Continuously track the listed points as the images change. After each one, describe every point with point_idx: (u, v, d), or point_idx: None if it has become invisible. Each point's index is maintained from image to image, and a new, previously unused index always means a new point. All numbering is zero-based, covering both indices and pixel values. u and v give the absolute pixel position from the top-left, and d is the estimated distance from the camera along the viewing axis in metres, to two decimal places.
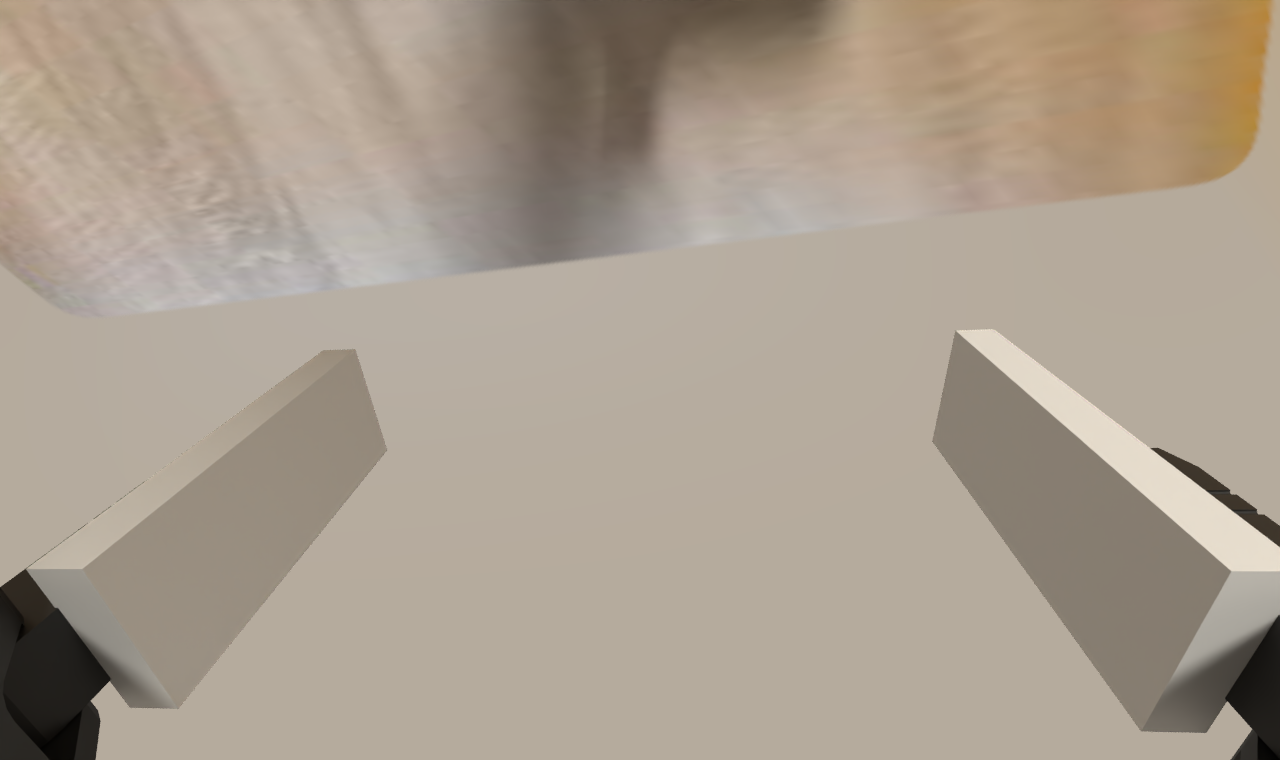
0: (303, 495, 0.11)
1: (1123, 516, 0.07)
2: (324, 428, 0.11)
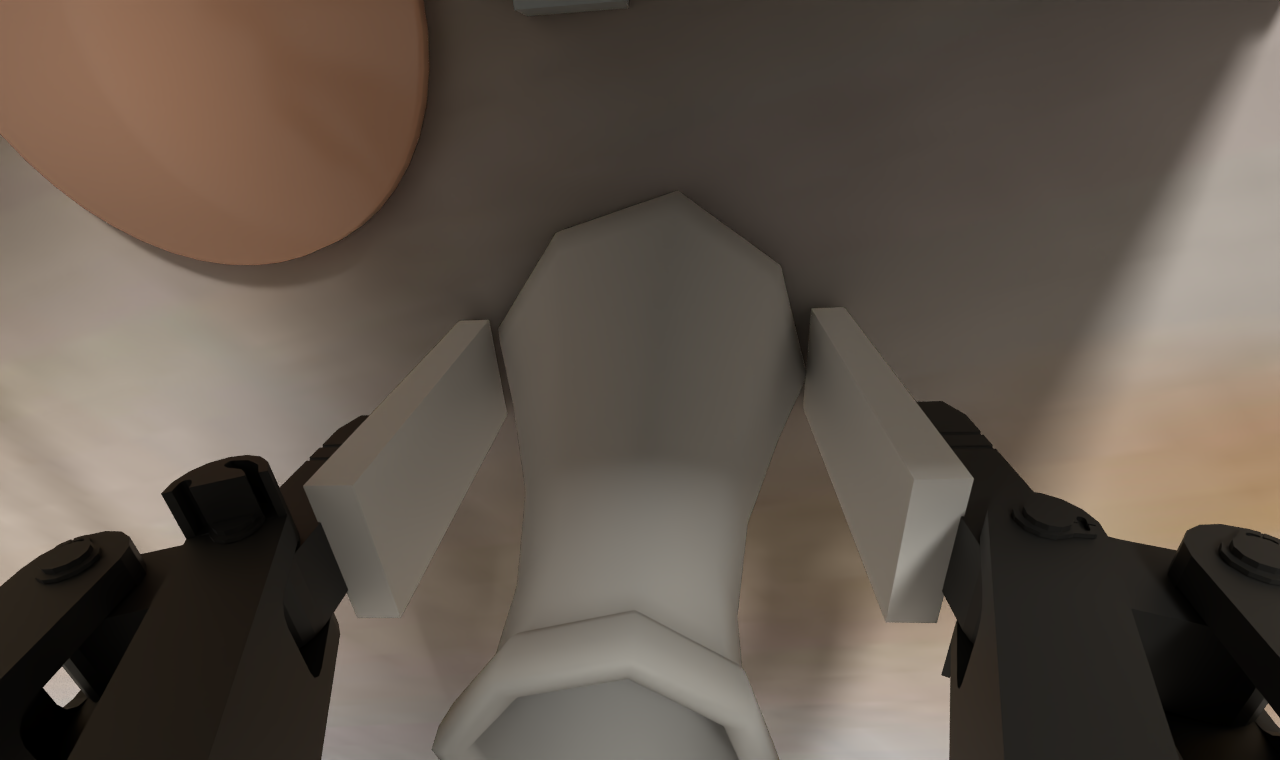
0: (462, 446, 0.12)
1: (877, 449, 0.09)
2: (473, 388, 0.13)
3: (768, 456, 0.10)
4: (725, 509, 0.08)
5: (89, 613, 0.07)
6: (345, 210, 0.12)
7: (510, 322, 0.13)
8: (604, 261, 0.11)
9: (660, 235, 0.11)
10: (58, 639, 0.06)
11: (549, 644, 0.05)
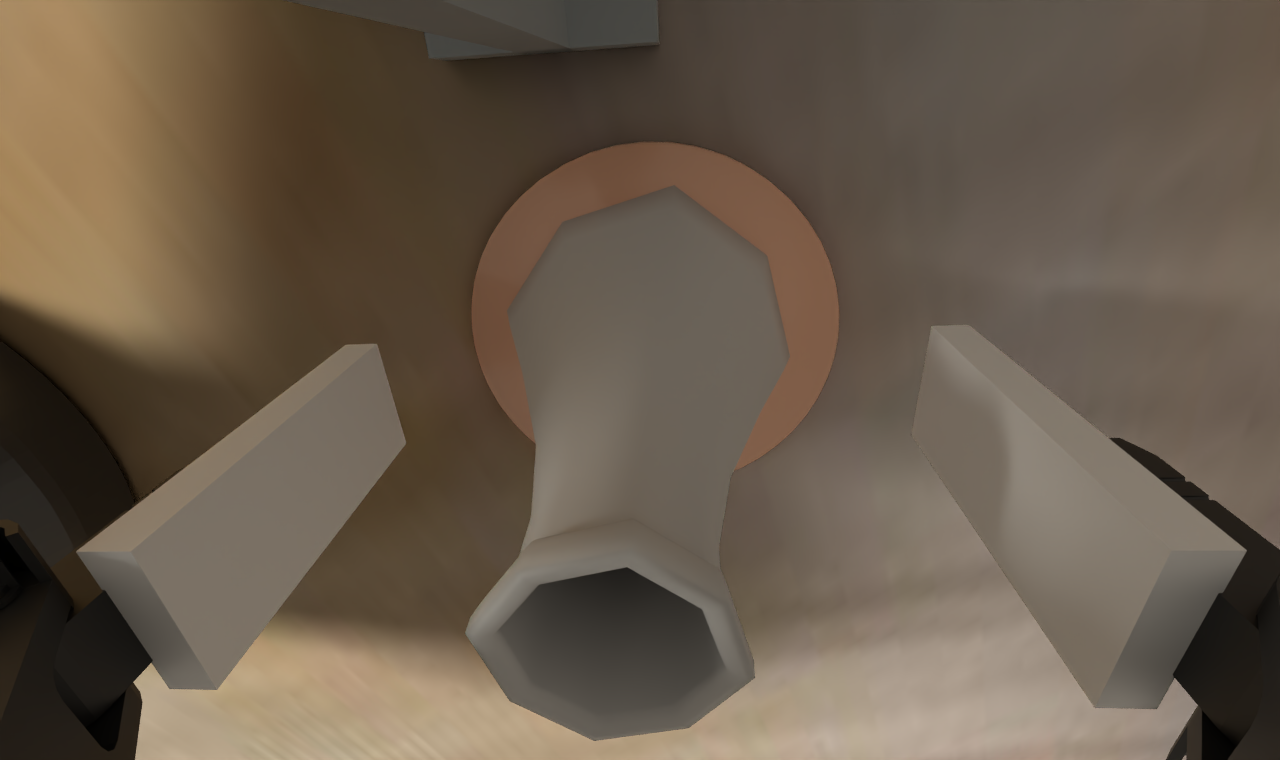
0: (329, 485, 0.11)
1: (1078, 501, 0.07)
2: (348, 420, 0.12)
3: (751, 423, 0.11)
4: (710, 458, 0.09)
5: None
6: (802, 240, 0.14)
7: (519, 304, 0.14)
8: (606, 247, 0.12)
9: (658, 225, 0.12)
10: None
11: (564, 542, 0.06)
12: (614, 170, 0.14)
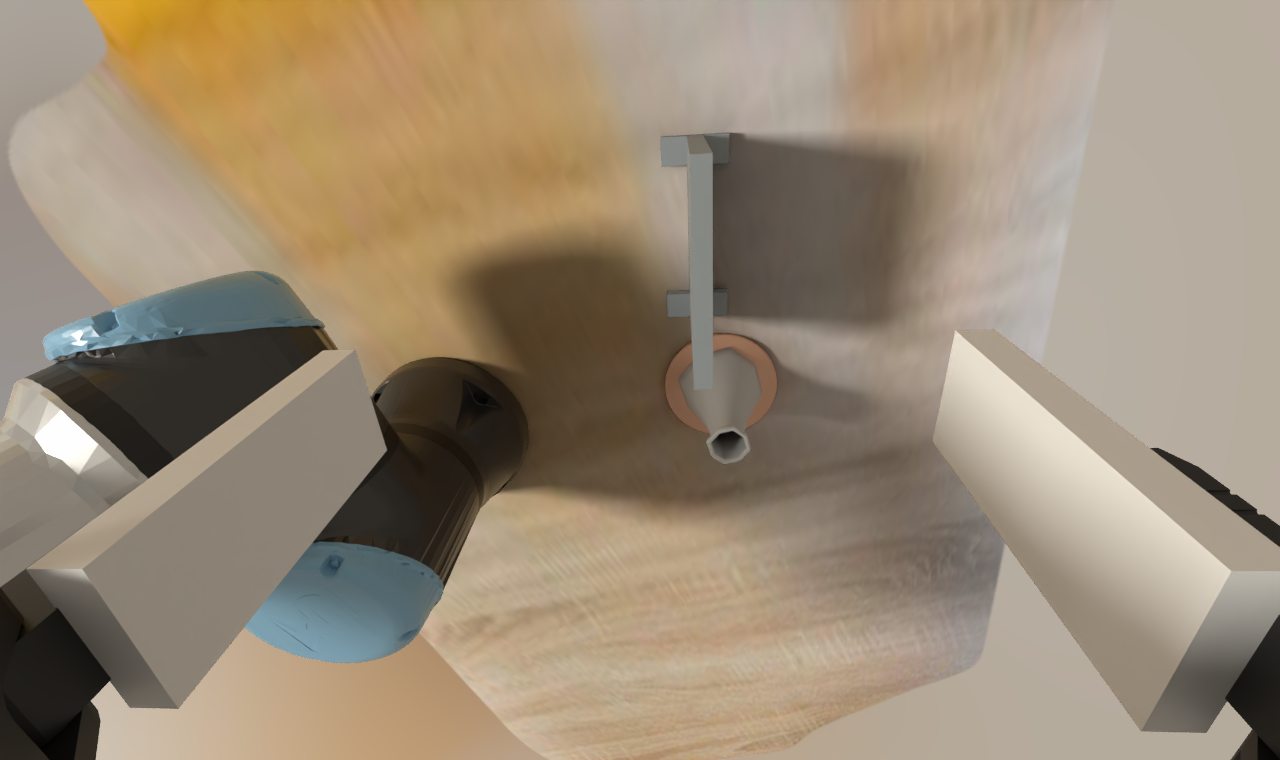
0: (303, 495, 0.11)
1: (1123, 516, 0.07)
2: (324, 428, 0.11)
3: (751, 411, 0.47)
4: (742, 417, 0.44)
5: None
6: (765, 360, 0.49)
7: (684, 377, 0.50)
8: (713, 365, 0.48)
9: (726, 360, 0.48)
10: None
11: (723, 427, 0.41)
12: (713, 341, 0.49)
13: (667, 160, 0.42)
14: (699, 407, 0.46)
